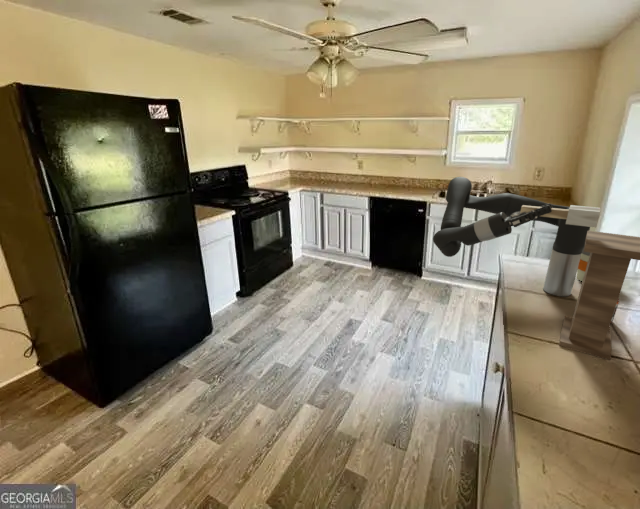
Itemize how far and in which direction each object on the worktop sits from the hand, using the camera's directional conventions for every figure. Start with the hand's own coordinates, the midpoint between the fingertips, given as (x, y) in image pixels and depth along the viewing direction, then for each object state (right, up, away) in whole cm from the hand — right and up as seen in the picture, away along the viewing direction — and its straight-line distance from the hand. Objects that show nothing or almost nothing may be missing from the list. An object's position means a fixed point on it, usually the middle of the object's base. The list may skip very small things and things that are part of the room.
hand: (551, 207), depth 101 cm
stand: (+14, -40, +5) cm, 43 cm away
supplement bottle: (+27, -36, +14) cm, 47 cm away
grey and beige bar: (+2, -4, 0) cm, 4 cm away
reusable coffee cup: (+46, -25, +43) cm, 67 cm away
